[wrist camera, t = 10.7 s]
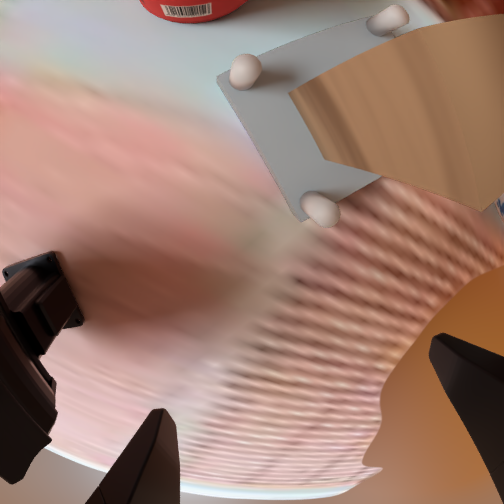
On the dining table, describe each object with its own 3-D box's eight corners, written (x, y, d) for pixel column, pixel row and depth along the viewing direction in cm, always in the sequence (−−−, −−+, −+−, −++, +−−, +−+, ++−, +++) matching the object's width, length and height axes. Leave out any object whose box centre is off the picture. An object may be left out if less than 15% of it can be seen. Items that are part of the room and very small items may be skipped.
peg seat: (293, 214, 20) (316, 238, 15) (216, 82, 16) (216, 63, 11) (424, 140, 19) (468, 147, 14) (367, 21, 15) (404, 0, 10)
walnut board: (324, 159, 17) (481, 212, 6) (287, 93, 15) (418, 28, 4) (398, 120, 16) (560, 136, 5) (367, 58, 14) (522, 12, 3)
